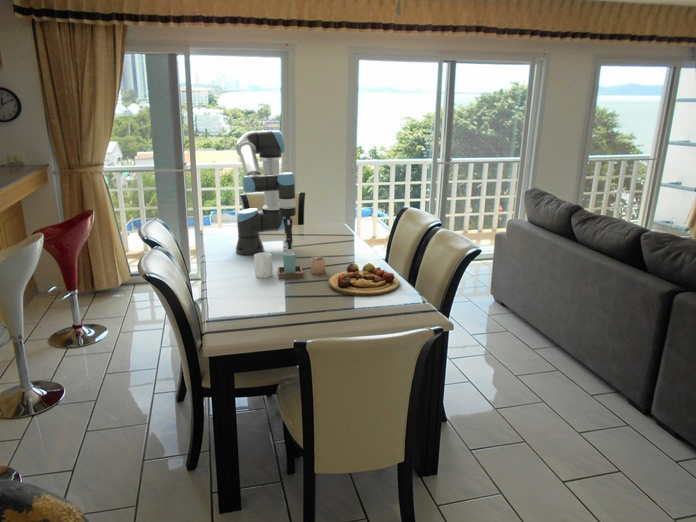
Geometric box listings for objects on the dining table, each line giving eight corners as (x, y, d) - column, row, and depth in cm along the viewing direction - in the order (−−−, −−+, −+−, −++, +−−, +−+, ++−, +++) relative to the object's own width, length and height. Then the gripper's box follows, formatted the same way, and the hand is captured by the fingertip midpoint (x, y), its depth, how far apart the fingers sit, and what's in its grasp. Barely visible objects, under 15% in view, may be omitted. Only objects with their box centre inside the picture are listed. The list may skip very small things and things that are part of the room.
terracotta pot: (310, 270, 258) (309, 256, 256) (324, 269, 259) (324, 255, 257) (311, 274, 251) (311, 260, 249) (326, 274, 252) (325, 259, 250)
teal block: (294, 272, 254) (294, 252, 251) (295, 275, 249) (294, 254, 247) (284, 272, 253) (283, 252, 250) (284, 275, 249) (283, 255, 246)
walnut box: (277, 271, 256) (277, 267, 255) (301, 270, 258) (301, 265, 257) (278, 279, 245) (278, 274, 245) (303, 277, 247) (303, 272, 246)
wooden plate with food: (348, 302, 217) (348, 283, 215) (317, 279, 245) (317, 262, 242) (413, 291, 231) (414, 273, 229) (377, 270, 258) (378, 254, 256)
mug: (272, 280, 244) (271, 259, 241) (254, 281, 243) (252, 260, 240) (273, 272, 255) (271, 252, 252) (255, 273, 254) (254, 252, 251)
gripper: (278, 201, 253) (279, 244, 260) (280, 213, 230) (282, 259, 236) (293, 201, 254) (295, 243, 261) (297, 212, 231) (299, 258, 237)
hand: (289, 251), depth 249 cm, fingers open, 13 cm apart
